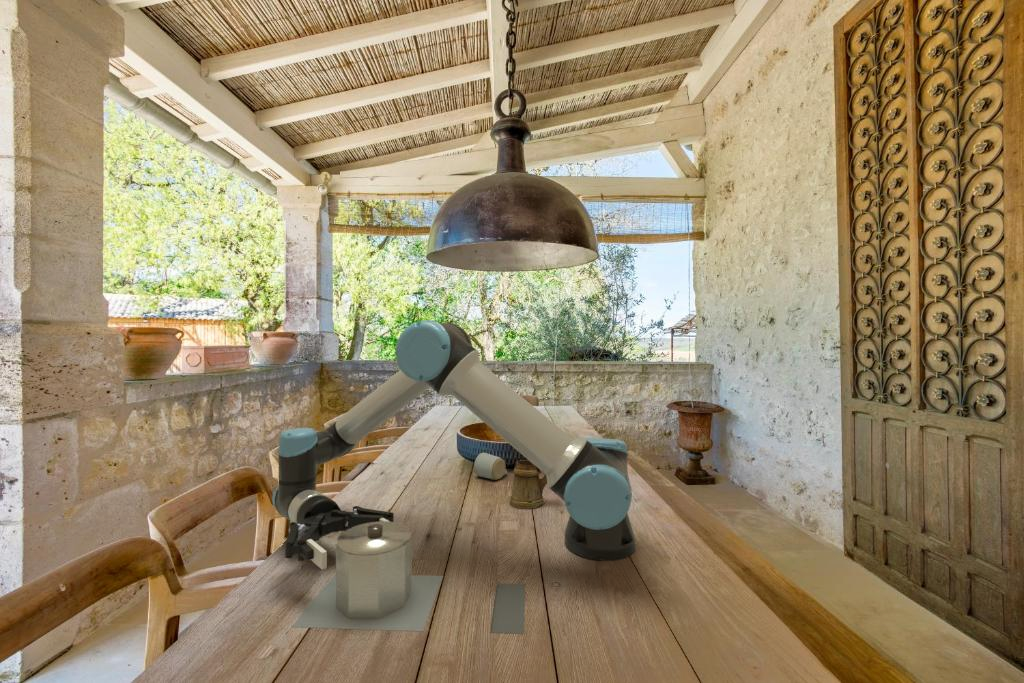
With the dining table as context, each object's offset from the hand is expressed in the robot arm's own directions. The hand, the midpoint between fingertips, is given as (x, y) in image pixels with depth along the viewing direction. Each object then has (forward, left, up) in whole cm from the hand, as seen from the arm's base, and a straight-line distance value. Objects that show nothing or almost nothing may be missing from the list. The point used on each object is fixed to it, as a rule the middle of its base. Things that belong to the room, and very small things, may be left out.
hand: (364, 547), depth 78 cm
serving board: (-3, +2, -9) cm, 9 cm away
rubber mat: (-21, +2, -9) cm, 22 cm away
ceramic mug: (-16, -71, -9) cm, 74 cm away
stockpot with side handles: (-2, +2, -8) cm, 8 cm away
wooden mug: (-30, -47, -9) cm, 56 cm away
